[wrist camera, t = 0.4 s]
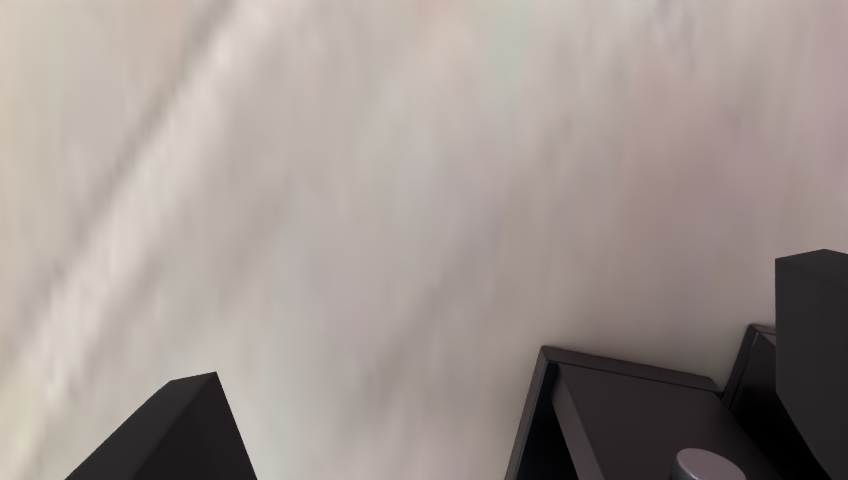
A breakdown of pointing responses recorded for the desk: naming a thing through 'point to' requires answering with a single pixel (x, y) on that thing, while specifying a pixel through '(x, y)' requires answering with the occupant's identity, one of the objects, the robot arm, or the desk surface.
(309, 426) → the desk surface
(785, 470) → the toaster
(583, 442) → the lever bracket
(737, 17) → the desk surface
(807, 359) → the robot arm
